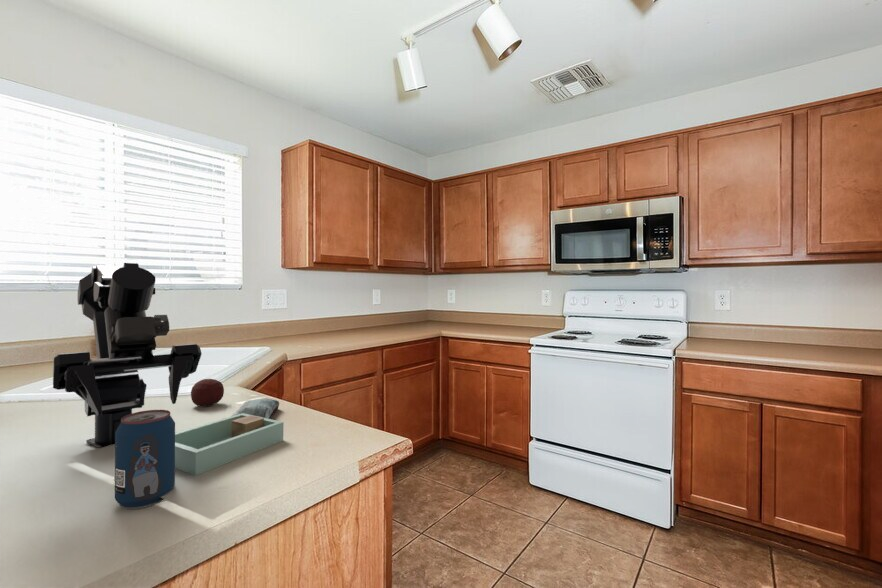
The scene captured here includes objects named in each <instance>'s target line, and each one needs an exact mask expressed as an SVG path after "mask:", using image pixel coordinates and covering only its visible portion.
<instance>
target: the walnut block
mask: <svg viewBox="0 0 882 588" xmlns="http://www.w3.org/2000/svg"><path fill="white" fill-rule="evenodd" d="M262 427H264V418H260V417H256V416H251V415H249V416H246V417H243V418H239V419H236V420H233V421H232V438H233V437H236V436H239V435H241V434H244V433H247V432H250V431H253V430H256V429H259V428H262Z"/></svg>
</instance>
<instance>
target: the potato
mask: <svg viewBox="0 0 882 588" xmlns="http://www.w3.org/2000/svg"><path fill="white" fill-rule="evenodd" d="M224 394H225V387H224V384H222V382H221V381H219V380H218V379H213V378H204V379H200V380H199V381H197V382H196V383H195V384H193V386H192V388H191V390H190V397H191V401H192V404H194V405H195V406H198V407H205V408H206V407H211V406H214V405H216V404H217V403H219V402H220V401H221V400H222V399H223V397H224Z"/></svg>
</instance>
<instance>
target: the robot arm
mask: <svg viewBox="0 0 882 588" xmlns="http://www.w3.org/2000/svg"><path fill="white" fill-rule="evenodd" d="M155 283H156V276H155V274H153V273H152V272H150V271H149V270H147V269H145V268H142V267H140V266H139V263H137V262H136V263H135V262H133V263H131V262H124V263H123V266H122V267H119V266H111V265H96V266H92V267H91V272H90V273H88V274H87V275H86V276H84V277H82V278H81V279H79V282H78V287H77V305H78V306H79V305H81V311H82V315H83V316H85V317H87V318H88V319H90V321H92V323H93V330H94V331H93V333H94V339H95V348H96V357H97V358H92V359H91V352H90V351H88V350H87V351H75V352H60V353H58V354H56V355H55V356H54V357H53V363H52V364H53V365H52V367H53V368H52V389H55V390H59V391H60V390H64V391H65V392H66V393H75V394H76V395H77V396H79V398H81V399H82V400H83V401H84V412H85V414H86V417H92V416H94V438H89V439H87V440H86V444H88V445H91V446H94V447H96V448H99V449H102V448H106V447H109V446H113V445H115V432H116V430H117V428H118V427H119V425H120V423H121V418H122V417H124V416H126V415H129V414H132V413H133V409H141V408H143V407H144V406H145V396H146V392H147V391H146V390H147V383H145V382H144V379H143V377H140V375H139V371H140V370H148V369H159V368H167V369H168V372H169V375H168V385H169V395H170V401H171V404H172V405H175V404H176V403H177V398H178V395H179V390H180V385H181V381H182V379H185V378H186V379H187V377H189V375H191V374H194V373H196V371H197V368H198V366H199V363H200V360H201V358H202V350H201V347H200V346H199V344H198V343H185V344H173V345H172V347H171V351H170V353H168V354H167V353H165V354H157V355H154V352H153V351H155V350H156V347H157V343H156V342H157V341H156V338H157V337H160V336H161V337H163V336H167V335H168V333H169V332H170V322H169V318H168V314H154V315H153V316H147V314H146V311H147V310H148V309H149V308H150V306H151V302H152V297H153V296H154V295H156V287H155Z"/></svg>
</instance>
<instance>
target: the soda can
mask: <svg viewBox="0 0 882 588" xmlns="http://www.w3.org/2000/svg"><path fill="white" fill-rule="evenodd" d="M175 433H176V422H175V420H174V418H173V417H172V415H171V411H170V410H166V409H148V410H142V411H137V412H132V414H129V415H126V416H124V417H122V418H121V423H120V425H119V427H118V428H117V430H116V432H115V444H114V500H115V501H116V502H117V504H118V505H119V506H120V507H121V508H122V509H127V510H139V509H144V508H147V507H151V506H154V505H156V504H158V503H161V502H163V501H164V500H165V498H164V497H163V496H165V495H167V494H168V493H169V492H171V491H172V490H173V488H174V487H175V484H176V468H175Z"/></svg>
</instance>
